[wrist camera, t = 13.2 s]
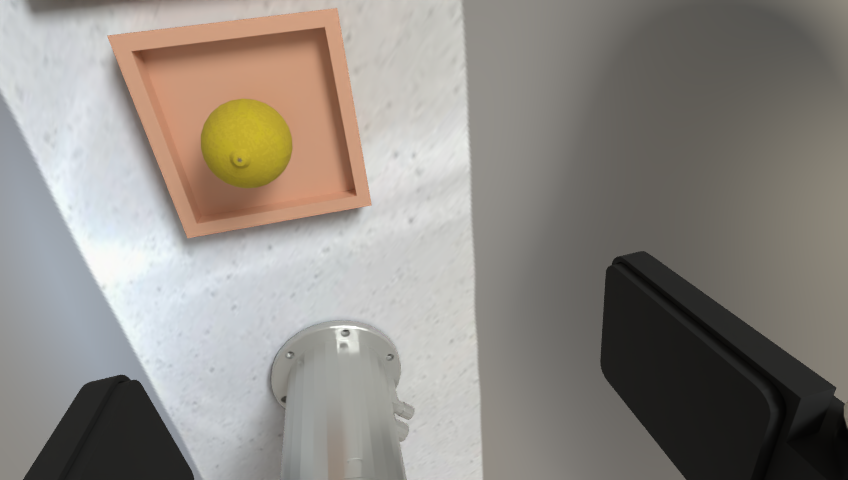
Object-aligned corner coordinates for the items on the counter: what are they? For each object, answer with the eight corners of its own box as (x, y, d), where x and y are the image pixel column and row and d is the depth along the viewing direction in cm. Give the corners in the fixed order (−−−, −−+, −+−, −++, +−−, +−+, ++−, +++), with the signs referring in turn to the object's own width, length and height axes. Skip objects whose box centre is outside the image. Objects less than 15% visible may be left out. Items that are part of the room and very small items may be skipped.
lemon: (309, 142, 34) (308, 175, 27) (247, 179, 34) (230, 221, 28) (263, 75, 32) (249, 92, 25) (196, 116, 32) (163, 144, 25)
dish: (368, 194, 38) (371, 205, 36) (195, 224, 36) (187, 238, 34) (335, 8, 32) (337, 8, 29) (122, 34, 30) (107, 35, 28)
